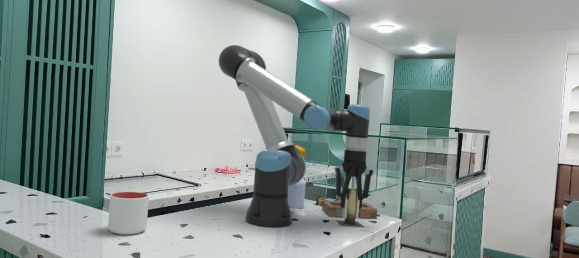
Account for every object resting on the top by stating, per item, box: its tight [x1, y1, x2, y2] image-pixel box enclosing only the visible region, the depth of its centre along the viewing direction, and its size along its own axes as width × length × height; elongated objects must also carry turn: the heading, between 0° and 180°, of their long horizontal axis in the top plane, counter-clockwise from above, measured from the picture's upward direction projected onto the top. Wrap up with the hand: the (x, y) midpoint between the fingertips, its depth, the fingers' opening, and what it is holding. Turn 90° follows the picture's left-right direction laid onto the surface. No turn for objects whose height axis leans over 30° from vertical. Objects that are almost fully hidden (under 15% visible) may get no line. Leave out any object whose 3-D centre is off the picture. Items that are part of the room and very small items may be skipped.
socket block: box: [321, 201, 378, 220], centre depth 157 cm, size 12×18×4 cm
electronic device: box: [315, 196, 341, 207], centre depth 171 cm, size 8×16×3 cm, turn 57°
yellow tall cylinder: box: [343, 187, 358, 225], centre depth 141 cm, size 4×4×12 cm
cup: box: [107, 191, 150, 236], centre depth 114 cm, size 10×10×10 cm
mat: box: [335, 219, 365, 228], centre depth 142 cm, size 8×8×1 cm
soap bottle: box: [288, 144, 307, 210], centre depth 165 cm, size 9×9×25 cm
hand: (349, 217), depth 142 cm, fingers closed on yellow tall cylinder, 3 cm apart
